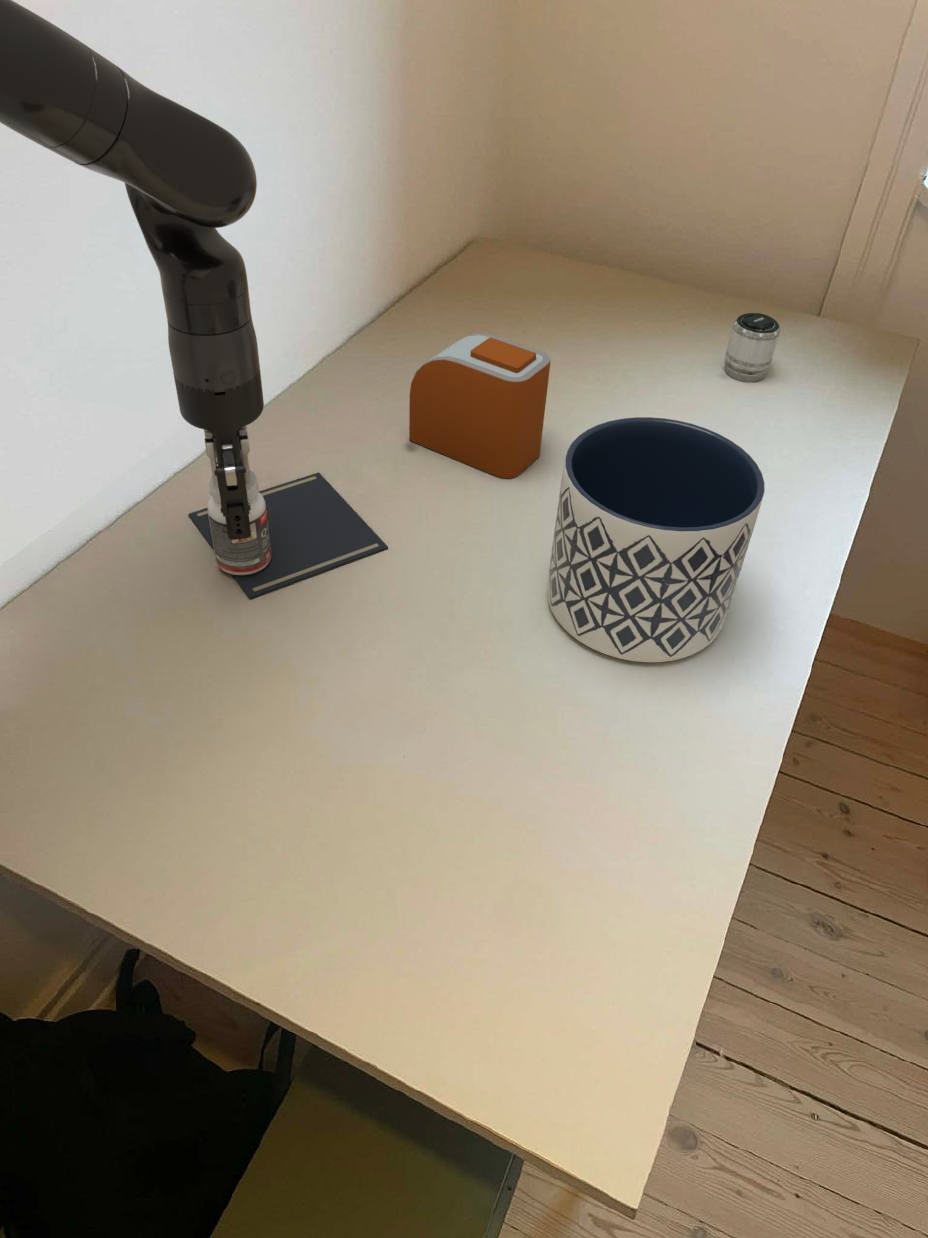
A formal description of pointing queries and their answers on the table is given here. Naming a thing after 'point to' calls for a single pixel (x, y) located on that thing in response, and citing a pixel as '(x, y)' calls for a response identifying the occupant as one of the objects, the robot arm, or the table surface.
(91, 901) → the table surface
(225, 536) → the pill bottle
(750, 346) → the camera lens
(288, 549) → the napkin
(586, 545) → the planter
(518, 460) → the alarm clock
